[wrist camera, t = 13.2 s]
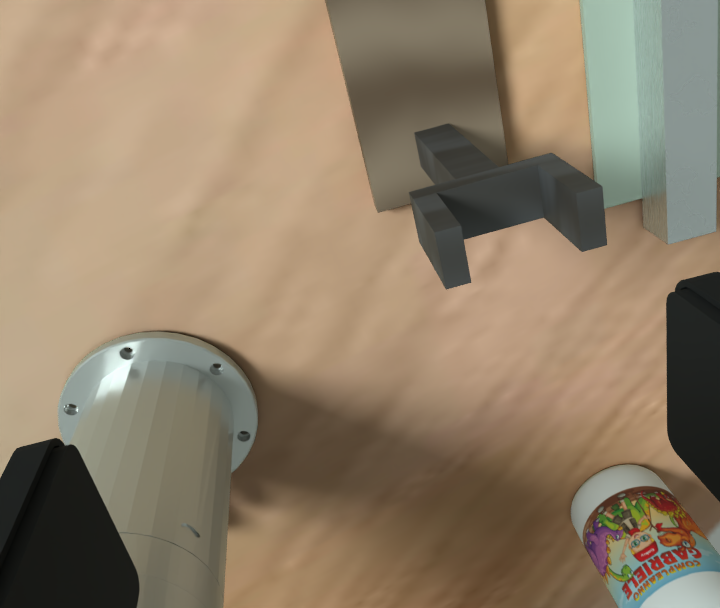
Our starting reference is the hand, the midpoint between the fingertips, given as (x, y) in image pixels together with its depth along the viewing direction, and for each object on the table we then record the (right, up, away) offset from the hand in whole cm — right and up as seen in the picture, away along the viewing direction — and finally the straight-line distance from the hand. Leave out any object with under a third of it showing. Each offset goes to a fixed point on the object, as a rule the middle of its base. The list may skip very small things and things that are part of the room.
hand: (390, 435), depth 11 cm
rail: (+16, +18, +28) cm, 37 cm away
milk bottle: (+20, -13, +44) cm, 50 cm away
